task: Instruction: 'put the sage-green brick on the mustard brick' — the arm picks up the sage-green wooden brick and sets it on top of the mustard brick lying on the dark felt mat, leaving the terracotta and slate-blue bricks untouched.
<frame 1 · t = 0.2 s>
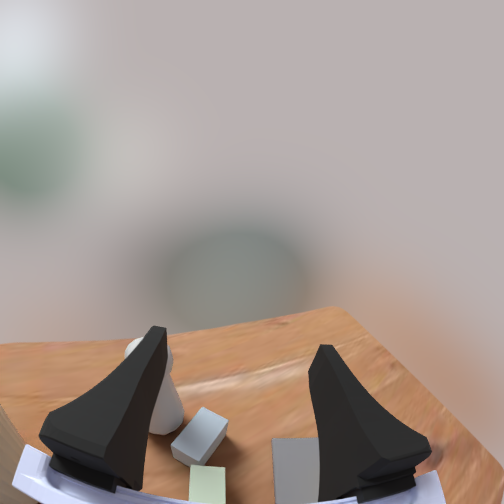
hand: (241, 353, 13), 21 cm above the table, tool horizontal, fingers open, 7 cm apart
canister: (1, 478, 12), on the table
green brick: (206, 500, 19), on the table
felt mat: (336, 486, 22), on the table
salt shaker: (160, 421, 27), on the table
slate brick: (200, 447, 25), on the table
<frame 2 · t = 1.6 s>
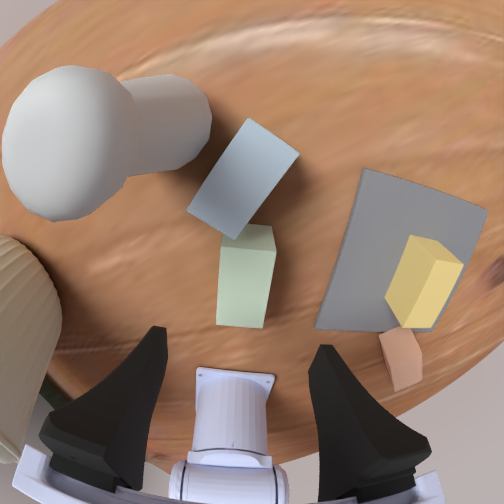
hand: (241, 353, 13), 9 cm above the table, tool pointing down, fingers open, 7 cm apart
canister: (23, 283, 22), on the table
green brick: (244, 260, 21), on the table
mustard brick: (411, 269, 21), resting on felt mat
felt mat: (409, 266, 22), on the table
terracotta brick: (395, 344, 26), on the table, tilted 5°, touching felt mat
salt shaker: (173, 121, 16), on the table
slate brick: (242, 167, 18), on the table
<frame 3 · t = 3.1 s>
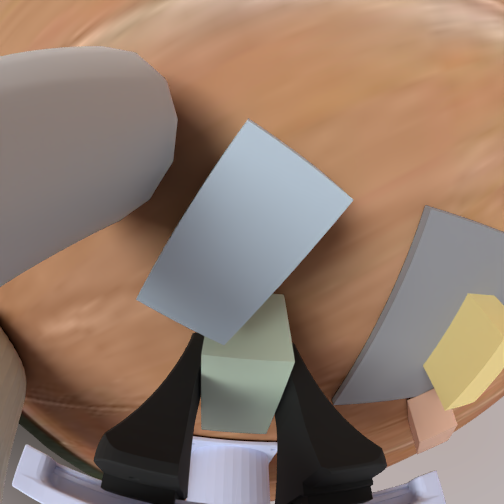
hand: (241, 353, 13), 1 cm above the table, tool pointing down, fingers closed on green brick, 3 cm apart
green brick: (241, 338, 14), on the table, touching gripper
mustard brick: (460, 332, 14), resting on felt mat
felt mat: (456, 327, 14), on the table
terracotta brick: (423, 404, 18), on the table, tilted 5°, touching felt mat
salt shaker: (122, 129, 9), on the table
slate brick: (237, 205, 11), on the table
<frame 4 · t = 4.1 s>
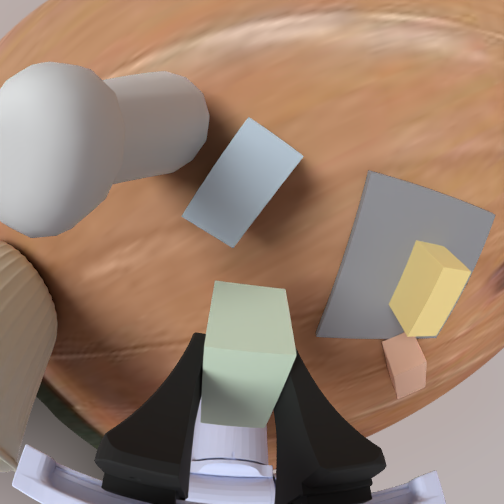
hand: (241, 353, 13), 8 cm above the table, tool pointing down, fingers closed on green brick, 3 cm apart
canister: (18, 287, 22), on the table
green brick: (241, 332, 14), point 7 cm above the table, touching gripper
mustard brick: (417, 275, 20), resting on felt mat
felt mat: (414, 272, 21), on the table
terracotta brick: (399, 350, 25), on the table, tilted 5°, touching felt mat
salt shaker: (168, 121, 16), on the table
slate brick: (241, 170, 17), on the table
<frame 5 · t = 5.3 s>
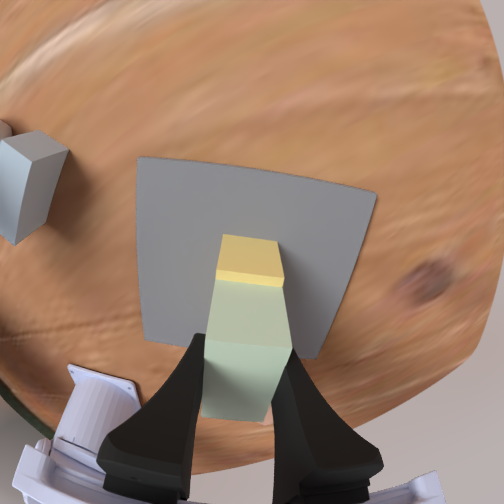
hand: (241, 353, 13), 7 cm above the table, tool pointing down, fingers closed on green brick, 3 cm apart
green brick: (240, 329, 15), point 4 cm above the table, touching gripper, mustard brick
mustard brick: (243, 280, 18), resting on felt mat, touching green brick
felt mat: (243, 275, 19), on the table
salt shaker: (0, 144, 13), on the table
slate brick: (41, 177, 15), on the table
when the fingers open (7 cm above the table, at t = 5.5 s): green brick stays where it is, resting on mustard brick.
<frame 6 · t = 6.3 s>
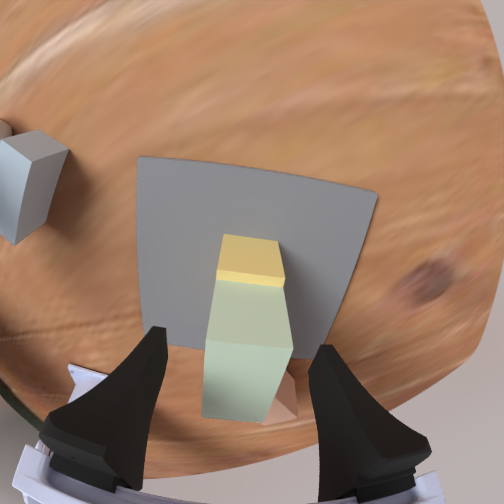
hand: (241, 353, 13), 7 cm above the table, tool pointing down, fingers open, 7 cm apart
green brick: (241, 329, 15), point 4 cm above the table, touching mustard brick
mustard brick: (243, 280, 18), resting on felt mat, touching green brick
felt mat: (243, 275, 18), on the table
terracotta brick: (263, 369, 23), on the table, tilted 5°, touching felt mat
salt shaker: (0, 144, 13), on the table
slate brick: (41, 176, 15), on the table
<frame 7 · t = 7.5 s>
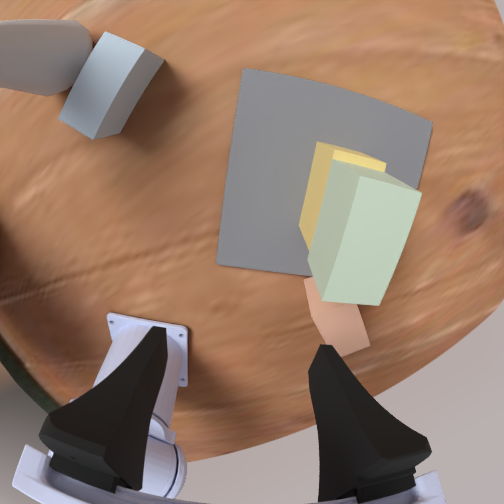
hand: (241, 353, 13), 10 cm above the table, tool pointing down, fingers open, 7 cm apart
green brick: (346, 216, 15), point 4 cm above the table, touching mustard brick
mustard brick: (329, 188, 19), resting on felt mat, touching green brick
felt mat: (328, 186, 19), on the table
terracotta brick: (333, 297, 23), on the table, tilted 5°, touching felt mat
salt shaker: (74, 60, 14), on the table
slate brick: (124, 87, 15), on the table
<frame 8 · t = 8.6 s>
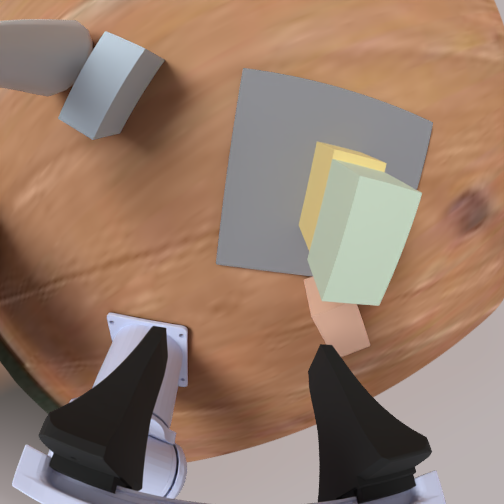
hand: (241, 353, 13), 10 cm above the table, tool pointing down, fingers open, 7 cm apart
green brick: (346, 216, 15), point 4 cm above the table, touching mustard brick
mustard brick: (329, 188, 19), resting on felt mat, touching green brick
felt mat: (328, 186, 19), on the table
terracotta brick: (333, 297, 23), on the table, tilted 5°, touching felt mat
salt shaker: (74, 60, 14), on the table
slate brick: (124, 87, 15), on the table
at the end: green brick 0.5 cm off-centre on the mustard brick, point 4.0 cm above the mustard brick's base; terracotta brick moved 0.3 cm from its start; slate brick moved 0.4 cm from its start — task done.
